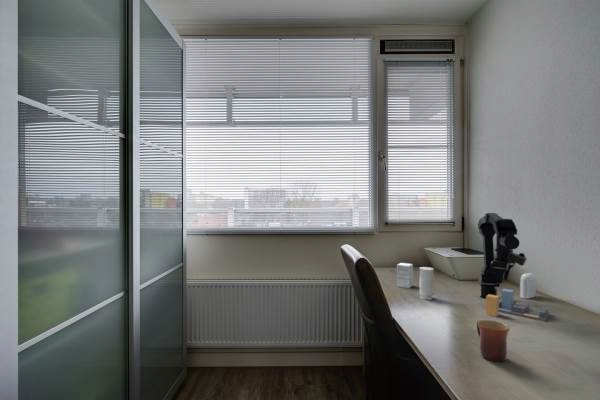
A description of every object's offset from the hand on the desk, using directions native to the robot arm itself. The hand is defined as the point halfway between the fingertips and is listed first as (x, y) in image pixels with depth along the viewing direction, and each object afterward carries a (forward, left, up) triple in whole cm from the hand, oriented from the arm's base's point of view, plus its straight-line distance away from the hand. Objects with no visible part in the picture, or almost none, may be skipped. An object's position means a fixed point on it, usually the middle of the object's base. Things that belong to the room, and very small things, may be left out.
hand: (503, 281), depth 151 cm
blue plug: (+1, +4, -13) cm, 13 cm away
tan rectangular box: (-2, -8, -14) cm, 16 cm away
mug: (+9, -52, -14) cm, 54 cm away
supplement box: (-52, +9, -14) cm, 55 cm away
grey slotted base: (+6, +4, -13) cm, 15 cm away
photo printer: (+3, +35, -14) cm, 38 cm away
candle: (-33, -5, -14) cm, 36 cm away
